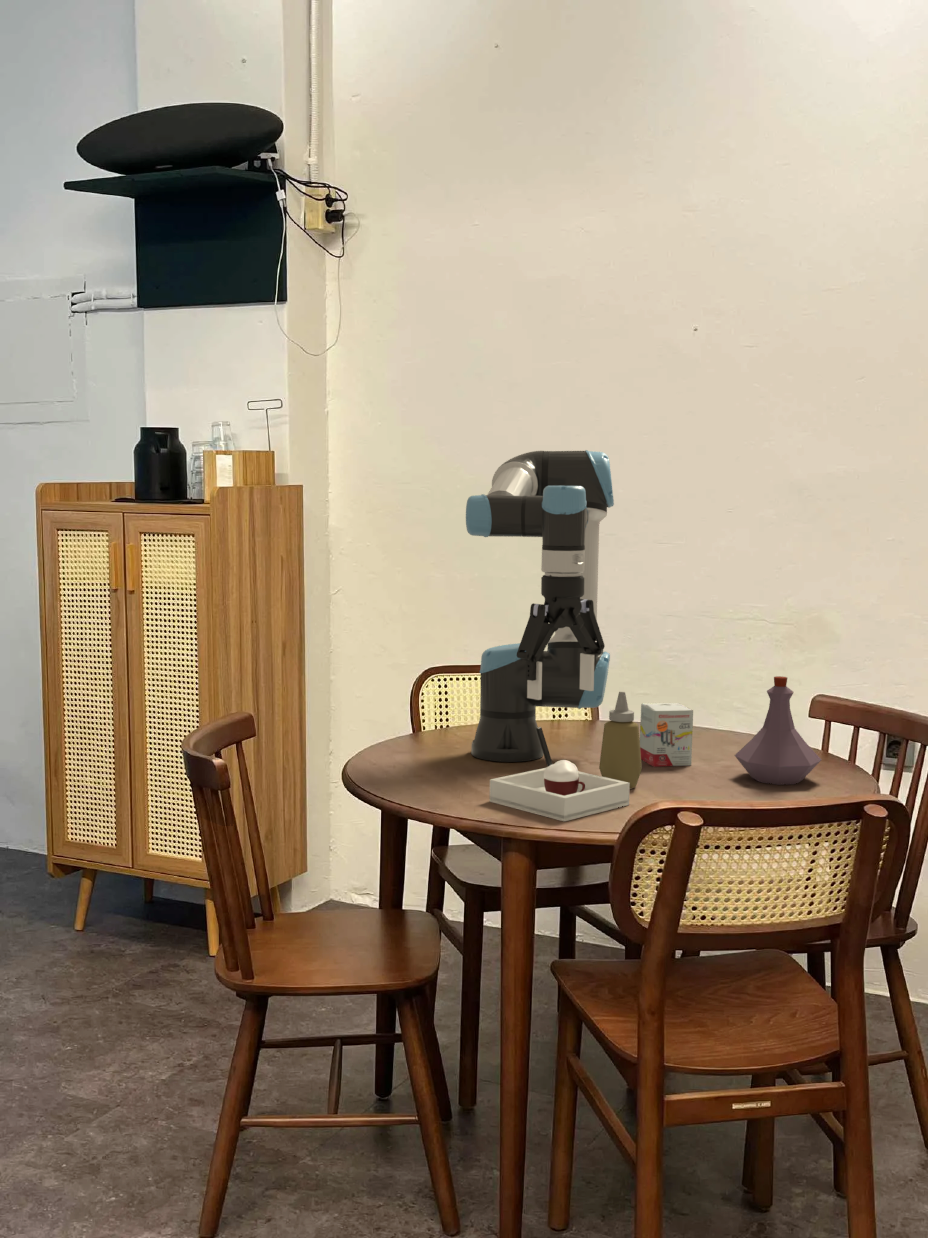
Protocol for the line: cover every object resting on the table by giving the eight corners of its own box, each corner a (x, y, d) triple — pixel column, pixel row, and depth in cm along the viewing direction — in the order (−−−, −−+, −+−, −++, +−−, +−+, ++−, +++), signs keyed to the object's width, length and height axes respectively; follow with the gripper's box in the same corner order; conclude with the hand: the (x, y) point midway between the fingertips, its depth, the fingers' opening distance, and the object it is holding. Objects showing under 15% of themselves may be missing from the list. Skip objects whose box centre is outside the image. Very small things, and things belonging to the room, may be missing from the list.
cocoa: (589, 802, 220) (594, 735, 219) (562, 806, 217) (567, 738, 215) (554, 789, 228) (559, 724, 227) (527, 792, 224) (532, 727, 223)
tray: (554, 786, 234) (554, 765, 234) (629, 805, 221) (629, 782, 221) (489, 801, 223) (489, 779, 222) (564, 821, 210) (564, 798, 209)
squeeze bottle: (595, 781, 239) (596, 688, 237) (636, 781, 239) (639, 688, 237) (602, 792, 231) (604, 695, 229) (645, 791, 231) (648, 695, 229)
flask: (715, 776, 245) (719, 675, 243) (774, 766, 254) (778, 669, 252) (779, 793, 231) (783, 686, 229) (839, 782, 240) (843, 679, 238)
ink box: (652, 767, 252) (654, 709, 251) (638, 758, 260) (639, 702, 259) (692, 765, 254) (694, 708, 253) (677, 757, 262) (678, 701, 261)
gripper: (528, 579, 207) (527, 705, 209) (625, 572, 224) (623, 689, 226) (496, 576, 212) (495, 699, 215) (593, 569, 229) (591, 683, 232)
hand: (561, 694), depth 220 cm, fingers open, 13 cm apart
